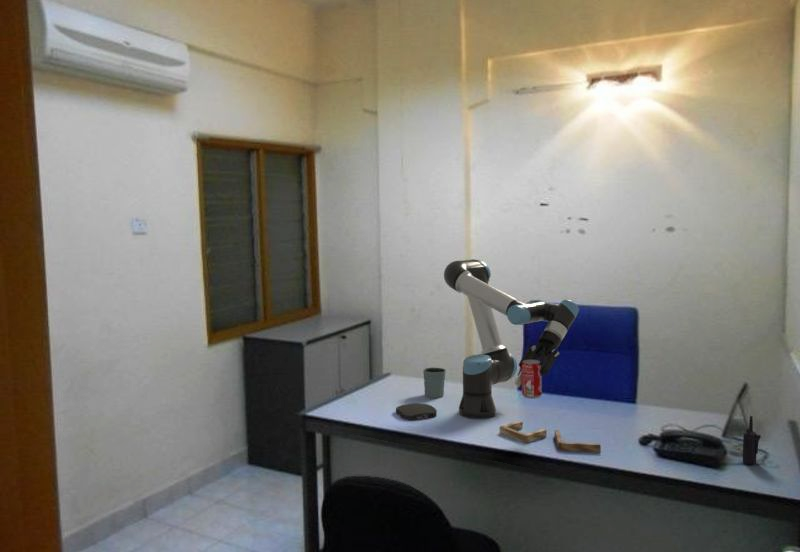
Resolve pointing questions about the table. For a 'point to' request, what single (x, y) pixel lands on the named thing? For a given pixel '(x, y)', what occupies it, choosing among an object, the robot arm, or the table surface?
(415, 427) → the table surface
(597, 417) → the table surface
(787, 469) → the table surface
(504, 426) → the wooden u-channel
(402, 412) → the media streaming box
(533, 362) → the soda can
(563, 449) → the bracket
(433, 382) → the grey-green cup
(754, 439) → the two-way radio
